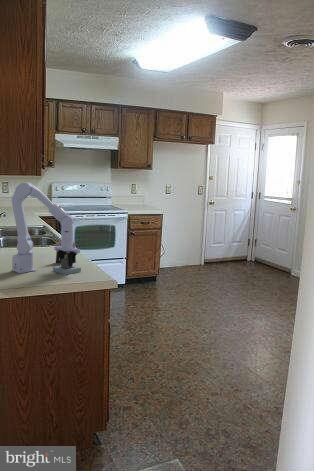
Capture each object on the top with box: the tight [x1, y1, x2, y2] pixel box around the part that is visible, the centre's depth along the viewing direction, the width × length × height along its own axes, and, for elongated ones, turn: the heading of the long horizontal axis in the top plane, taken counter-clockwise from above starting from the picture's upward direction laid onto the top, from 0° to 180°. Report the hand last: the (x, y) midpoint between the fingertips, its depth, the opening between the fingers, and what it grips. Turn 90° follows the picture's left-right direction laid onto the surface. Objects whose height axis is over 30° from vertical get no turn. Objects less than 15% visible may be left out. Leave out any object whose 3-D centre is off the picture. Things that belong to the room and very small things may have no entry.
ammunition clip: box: [55, 241, 77, 264], centre depth 227 cm, size 11×2×12 cm, turn 113°
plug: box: [60, 255, 72, 269], centre depth 208 cm, size 4×4×7 cm
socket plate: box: [52, 265, 82, 276], centre depth 209 cm, size 10×10×2 cm
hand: (66, 265), depth 209 cm, fingers closed on plug, 4 cm apart
